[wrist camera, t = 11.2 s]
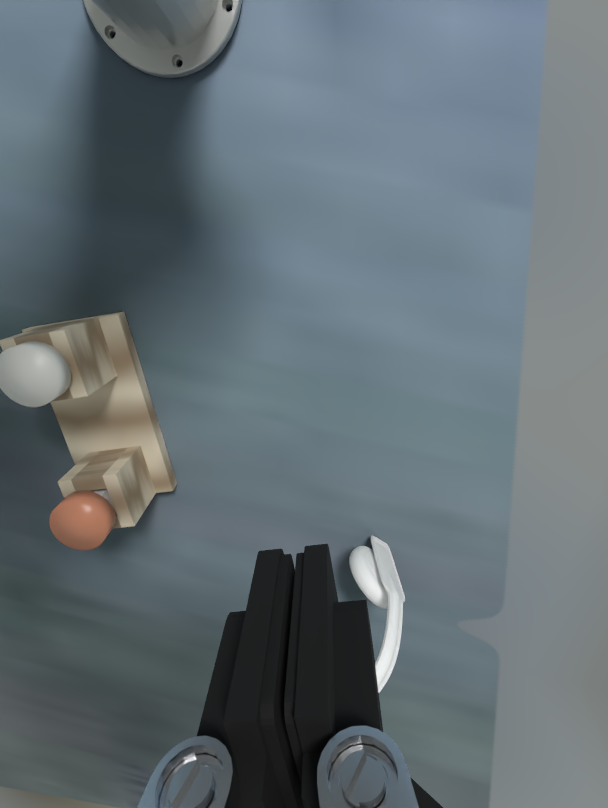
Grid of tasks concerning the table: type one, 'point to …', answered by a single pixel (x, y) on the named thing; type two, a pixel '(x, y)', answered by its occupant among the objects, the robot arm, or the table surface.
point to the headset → (381, 598)
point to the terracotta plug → (83, 519)
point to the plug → (33, 373)
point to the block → (106, 414)
